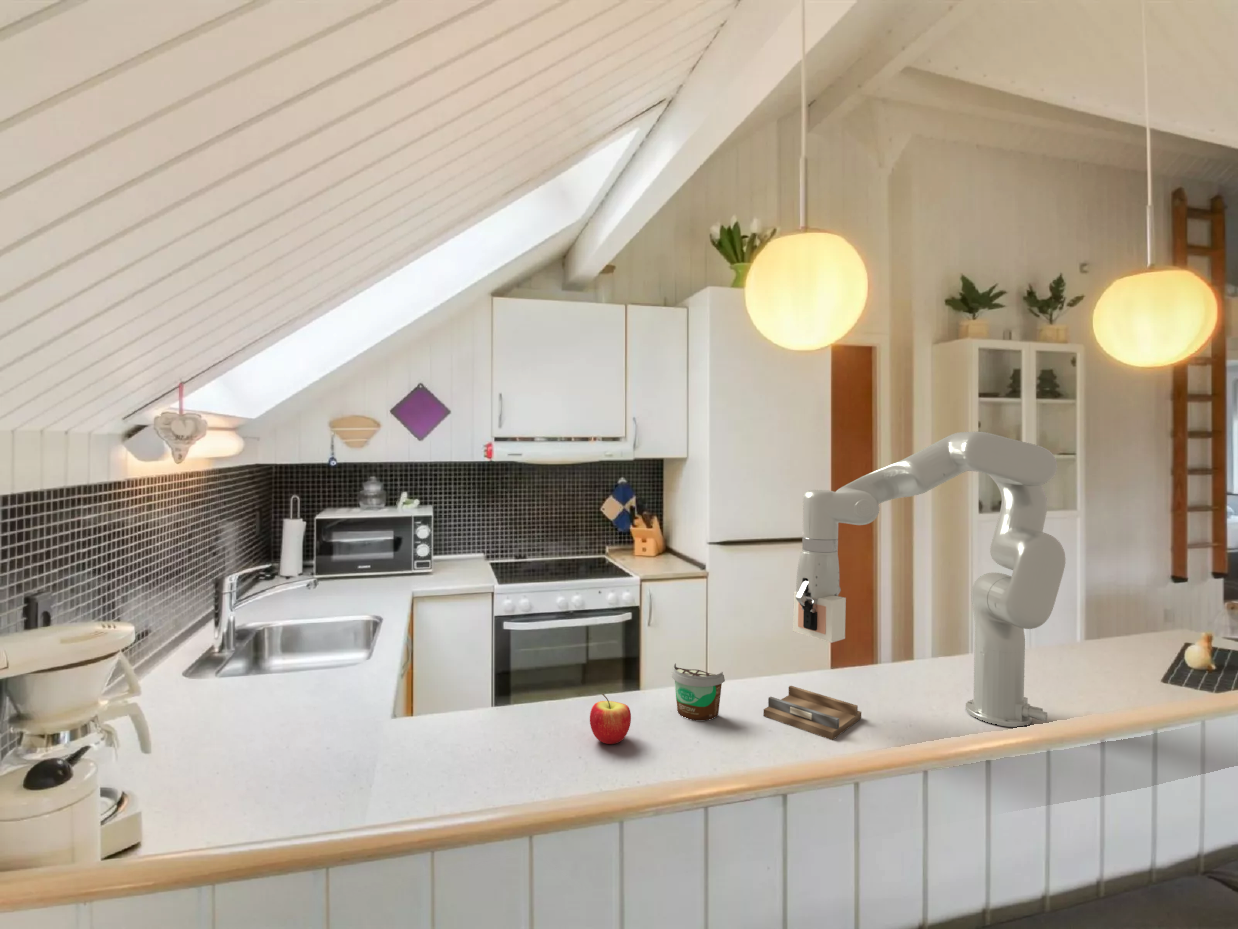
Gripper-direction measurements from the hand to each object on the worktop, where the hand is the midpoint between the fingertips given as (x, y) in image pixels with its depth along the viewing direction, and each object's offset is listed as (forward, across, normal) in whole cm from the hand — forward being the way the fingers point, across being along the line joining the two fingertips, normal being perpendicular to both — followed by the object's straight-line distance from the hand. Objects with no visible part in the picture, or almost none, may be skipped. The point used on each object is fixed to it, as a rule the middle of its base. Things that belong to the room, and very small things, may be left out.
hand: (818, 626), depth 139 cm
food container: (+20, +23, -15) cm, 34 cm away
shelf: (+20, +2, +1) cm, 20 cm away
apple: (+20, +45, -17) cm, 52 cm away
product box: (+2, 0, 0) cm, 2 cm away
